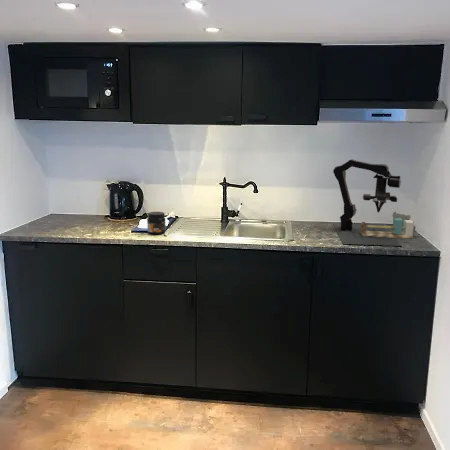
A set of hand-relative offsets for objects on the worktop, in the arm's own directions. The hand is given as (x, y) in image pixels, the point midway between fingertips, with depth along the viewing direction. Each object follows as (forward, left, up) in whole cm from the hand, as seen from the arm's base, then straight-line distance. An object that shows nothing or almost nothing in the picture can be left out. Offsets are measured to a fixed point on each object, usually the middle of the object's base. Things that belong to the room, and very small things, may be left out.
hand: (378, 212), depth 279 cm
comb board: (+5, -5, -13) cm, 14 cm away
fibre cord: (+4, -5, -8) cm, 10 cm away
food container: (+15, +11, -13) cm, 23 cm away
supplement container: (-128, -24, -13) cm, 131 cm away
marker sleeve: (+11, -5, -11) cm, 16 cm away
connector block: (+17, -5, -12) cm, 21 cm away
